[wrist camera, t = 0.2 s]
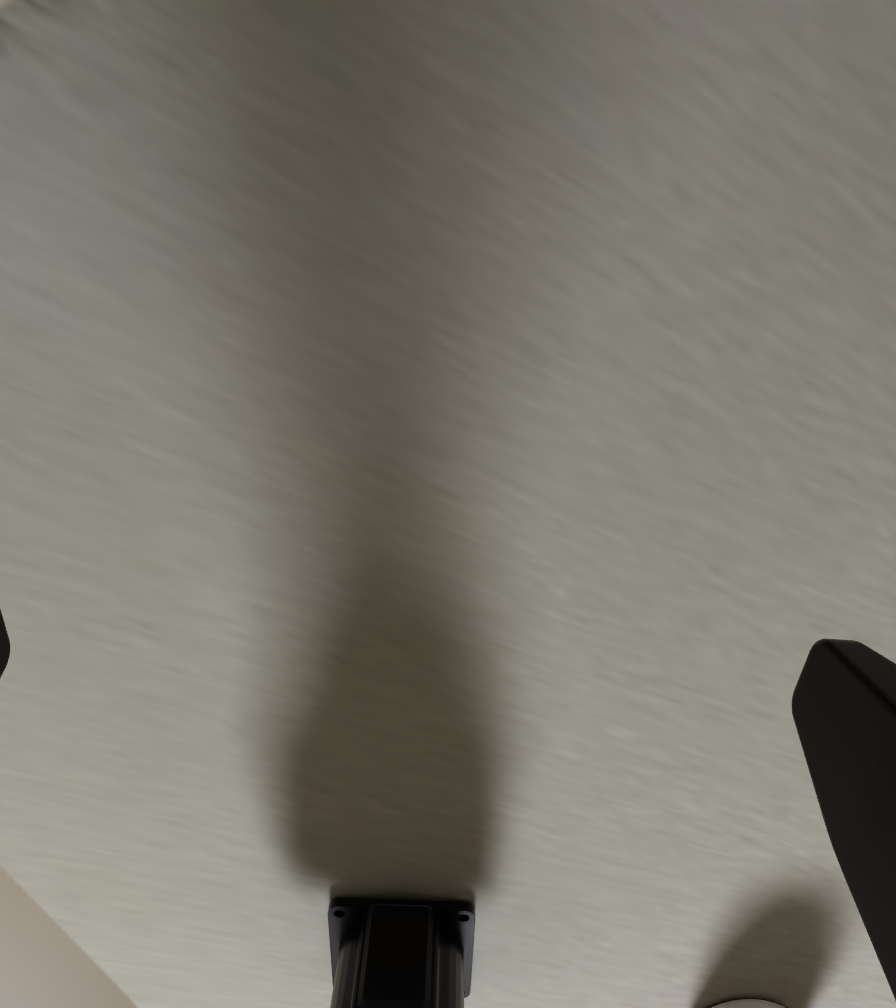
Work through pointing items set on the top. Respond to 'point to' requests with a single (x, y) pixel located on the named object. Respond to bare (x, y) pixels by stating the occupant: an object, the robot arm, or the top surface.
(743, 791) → the top surface
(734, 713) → the top surface
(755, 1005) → the pill bottle
